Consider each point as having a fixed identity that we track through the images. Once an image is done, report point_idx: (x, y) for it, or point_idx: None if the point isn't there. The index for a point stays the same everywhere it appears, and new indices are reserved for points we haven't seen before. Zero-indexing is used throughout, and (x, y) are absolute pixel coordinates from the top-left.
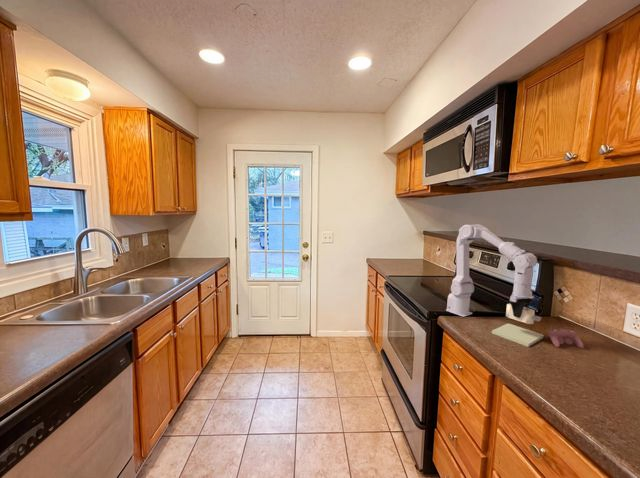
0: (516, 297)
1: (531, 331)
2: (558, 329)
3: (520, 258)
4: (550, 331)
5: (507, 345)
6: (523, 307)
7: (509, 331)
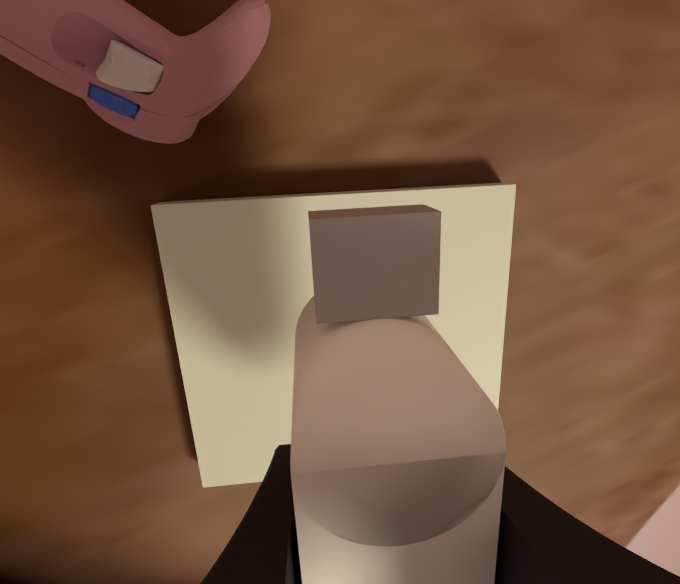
0: None
1: (185, 304)
2: (60, 44)
3: None
4: (163, 124)
5: (609, 279)
6: (549, 560)
7: None
